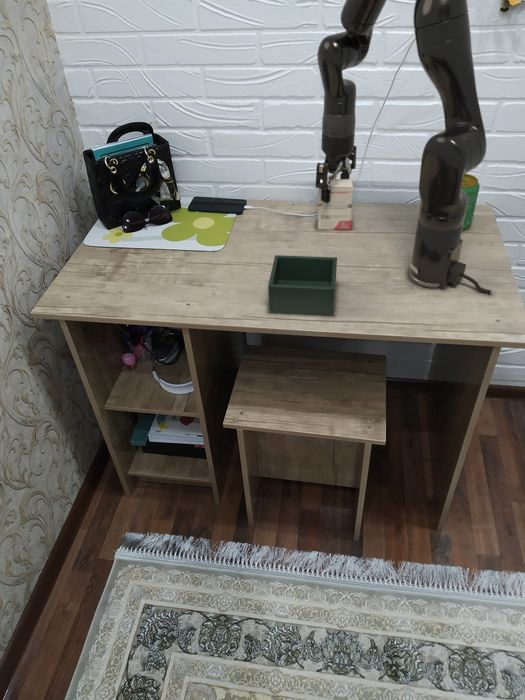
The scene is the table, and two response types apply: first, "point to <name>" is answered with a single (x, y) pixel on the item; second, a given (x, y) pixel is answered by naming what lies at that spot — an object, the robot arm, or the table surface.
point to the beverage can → (470, 197)
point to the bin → (302, 285)
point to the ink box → (336, 206)
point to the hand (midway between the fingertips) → (335, 194)
